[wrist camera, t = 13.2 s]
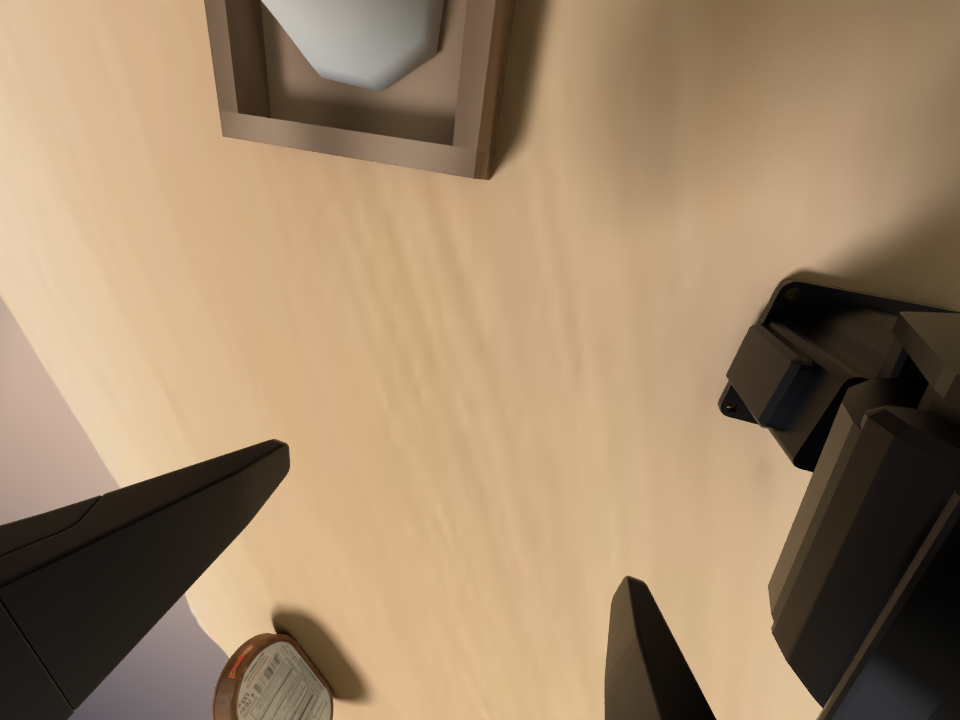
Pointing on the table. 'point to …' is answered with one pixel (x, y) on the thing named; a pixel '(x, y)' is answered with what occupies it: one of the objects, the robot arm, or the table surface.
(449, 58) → the tray
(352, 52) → the flask
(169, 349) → the table surface
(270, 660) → the tin
